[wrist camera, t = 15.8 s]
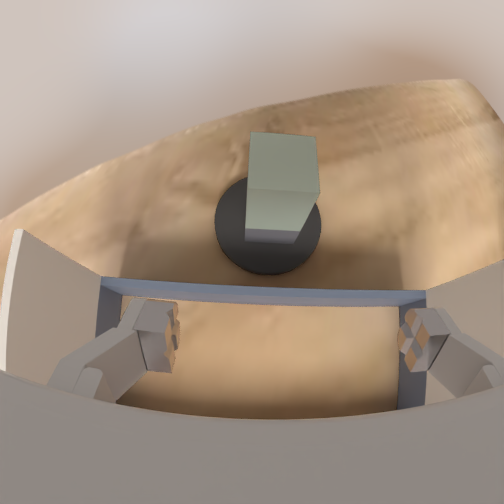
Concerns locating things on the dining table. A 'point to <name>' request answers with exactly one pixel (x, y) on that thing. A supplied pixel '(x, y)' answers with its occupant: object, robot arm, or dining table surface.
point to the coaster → (256, 253)
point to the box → (280, 186)
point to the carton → (111, 290)
